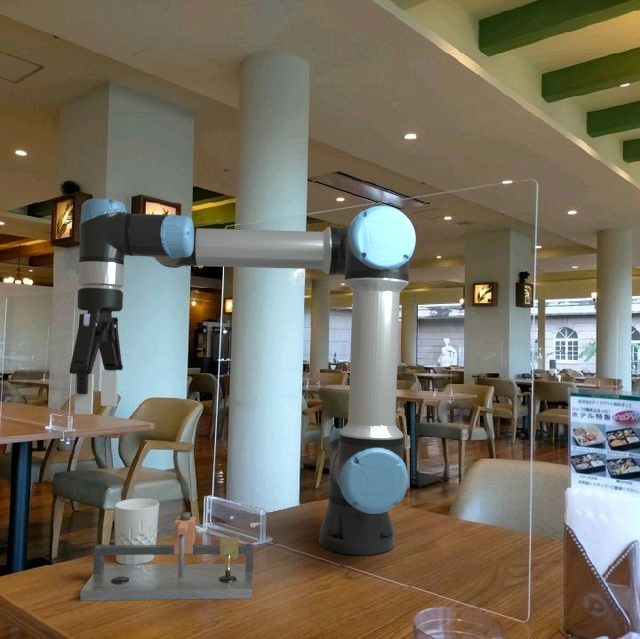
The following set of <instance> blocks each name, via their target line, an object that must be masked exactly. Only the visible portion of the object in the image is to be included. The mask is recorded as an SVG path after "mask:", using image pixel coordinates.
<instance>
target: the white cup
mask: <svg viewBox="0 0 640 639" xmlns="http://www.w3.org/2000/svg"><path fill="white" fill-rule="evenodd" d="M159 512H160V501H158V500H156V499H153V498H130V499H124V500H120V501H117V502H116V503H115V504H114V533H115V534H114V538H115V543H114V545H157V536H158V526H159V514H160V513H159ZM154 559H155V555H115V560H116V562H117V563H118V564H119V565H145V564H147V563H150V562H152V561H153V560H154Z"/></svg>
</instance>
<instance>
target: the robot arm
mask: <svg viewBox="0 0 640 639" xmlns="http://www.w3.org/2000/svg"><path fill="white" fill-rule="evenodd" d="M78 228H79V252H78V254H79V259H78V268H77V269H76V270H75V273H76V274H77V275H78V282H77V283H78V285H79V286H81V288H79V290H77V301H76V302H77V305H76V306H77V307H76V308H77V309H78V310H79V311H85V312H86V311H87V313H80V314H79V318H78V328H77V334H76V337H75V344H74V348H73V353H72V357H71V362H70V366H69V374H70V375H71V374H73V375H75V379H74V382H75V384H74V410H73V411H74V412H73V414H74V415H93V411H94V406H93V405H94V385H95V384H94V382H95V381H94V380H95V374H94V373H92V371H93V368H94V365H95V362H96V358H97V355H98V352H100V357H101V362H102V366H103V370H101V384H100V386H101V388H100V389H101V390H100V393H101V394H100V407H117V406H118V375H119V372H118V371H123V368H124V364H123V362H122V354H121V345H120V336H119V318H118V317H113V315H112V313H113V312H121V311H122V310H123V308H124V305H123V301H124V292H123V290H122V288H123V287H124V282H125V281H124V280H125V279H124V278H125V277H124V276H125V275H124V273H125V256H126V257H135V256H136V257H147V258H148V257H150V258H151V257H152V258H154V259H155V260H156V261H157V262H158V263H159V264H160V265H162V266H164V267H167V268H170V269H171V268H173V269H174V268H175V269H177V268H181V267H227V268H231V267H232V268H262V269H264V268H265V269H266V268H267V269H294V270H295V269H299V270H322V271H323V272H324V273H325V274H326V275H336V276H339V275H340V276H344V283H345V284H346V285H347V286H348V287H349V289H350V290H351V292H352V300H351V302H352V303H351V328H350V330H351V331H350V332H351V334H350V335H351V336H350V355H349V356H350V357H349V359H350V362H349V382H348V383H349V388H348V389H349V390H348V411H347V412H348V414H347V415H348V416H347V417H348V418H347V424H345V425H344V426H343V427H342V428H334V429H332V431H330V437H329V441H328V445H329V471H328V472H329V477H328V478H329V479H328V481H329V482H328V505H327V508H326V510H325V514H324V517H323V519H322V522H321V525H320V528H319V536H318V537H319V540H318V542H319V545H321V547H323V548H325V549H326V550H328V551H332V552H334V553H339V554H345V555H351V556H352V555H354V556H369V555H370V556H371V555H378V554H383V553H386V552H388V551H391V550H392V549H393V548H394V547H395V544H396V543H395V541H396V540H395V538H396V537H395V536H396V535H395V530H394V526H393V524H392V521H391V520H392V519H391V517H390V513H389V511H390V510H392V509H394V508H395V507H396V506H398V504H400V503H401V501H402V500H403V498H404V496H405V495H406V493H407V491H408V486H409V474H408V469H407V466H406V463H405V462H404V438H405V437H404V433H403V432H402V431H401V430H400V429H399V427H397V424H396V422H397V420H396V417H397V389H398V388H397V385H398V382H397V381H398V354H399V325H400V324H399V323H400V298H401V297H400V293H401V292H402V291H403V290H404V289H405V288H406V287H408V285H409V277H410V276H409V275H410V259H411V258H412V256H413V254H414V251H415V247H416V243H417V242H416V241H417V240H416V239H417V238H416V237H417V236H416V231H415V228H414V225H413V223H412V222H411V220H410V219H409V218H408V217H407V216H406V214H404V212H402V211H401V210H399V209H397V208H395V207H392V206H390V205H389V206H388V205H376V206H371V207H369V208H367V209H365V210H363V211H361V212H359V213H358V214H357V215H356V216H355V217H354V218H353V219H352V221H351V223H350V224H349V225H345V226H327V227H326V228H325V229H324V230H322V231H311V230H310V231H309V230H308V231H306V230H301V231H300V230H269V229H267V230H266V229H234V228H233V229H232V228H229V229H228V228H202V227H201V228H200V227H199V228H195V226H194V221H193V220H192V218H191V217H190V216H187V215H179V214H178V215H177V214H175V213H170V214H159V213H157V214H154V213H153V214H151V213H150V214H149V213H148V214H147V213H130V212H127V210H126V205H125V203H124V202H121V201H119V200H116V199H108V198H90V199H87V200H85V201H84V202H83V203H82V204H81V213H80V223H79V226H78Z"/></svg>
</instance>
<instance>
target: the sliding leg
mask: <svg viewBox="0 0 640 639" xmlns="http://www.w3.org/2000/svg"><path fill="white" fill-rule="evenodd" d="M195 540H196V516H191V512H187V511H183V512H181V513H180V516H177V517H176V519H175V521H174V540H173V541H174V542H173V543H174V544H173V545H174V554H173V555H178V565H179V567H178V578H183V570H184V564H185V555H194V554H193V545H196V544H195V542H196V541H195Z"/></svg>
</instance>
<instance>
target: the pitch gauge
mask: <svg viewBox="0 0 640 639" xmlns="http://www.w3.org/2000/svg"><path fill="white" fill-rule="evenodd" d="M254 545H255V544H254V543H246V544H243V543H242V544H241V543H240V536H221V538H220V543H219V544H195V545H193V554H192V555H219V559H220V560H221V559H225V563H217V564H215V563H208V564H207V563H204V564H203V563H202V564H201V563H200V564H198V563H196V564H193V563H189V564H188V563H187V564H185V563H184V570H183V578H178V567H179V564H139V565H125V564H110V565H109V564H105V556H116V555H154V556H156V555H159V556H160V555H161V556H162V555H164V556H165V555H166V556H167V555H175V554H174V544H155V545H115V544H111V545H110V544H108V545H107V544H96V545H95V547H94V548H93V565H92V566H93V571H92V572H93V573H92V575H91V576H90V577H89V578H88V580H87V582H86V583H85V584H84V585H83V587H82V588H81V589H80V597H79V598H80V600H79V601H80V602H83V601H84V602H86V601H87V602H89V601H90V602H91V601H97V602H98V601H155V600H157V601H160V600H161V601H164V600H165V601H166V600H171V601H172V600H217V599H218V600H220V599H221V600H222V599H223V600H224V599H225V600H227V599H228V600H231V599H232V600H233V599H235V600H237V599H252V598H253V578H254ZM239 555H245V563H231V561H232V559H239Z"/></svg>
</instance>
